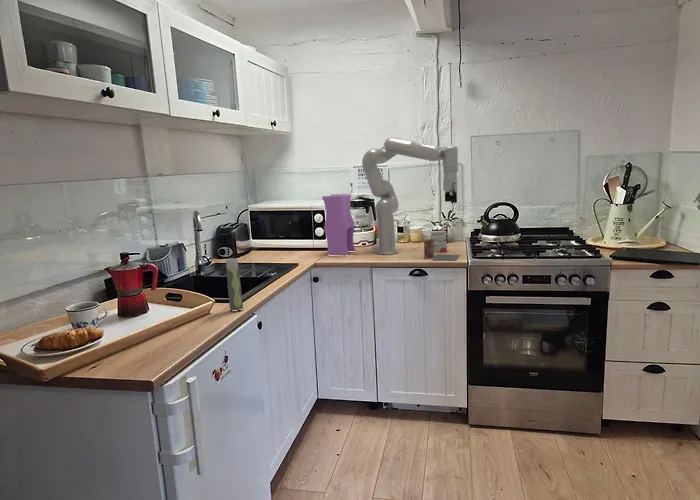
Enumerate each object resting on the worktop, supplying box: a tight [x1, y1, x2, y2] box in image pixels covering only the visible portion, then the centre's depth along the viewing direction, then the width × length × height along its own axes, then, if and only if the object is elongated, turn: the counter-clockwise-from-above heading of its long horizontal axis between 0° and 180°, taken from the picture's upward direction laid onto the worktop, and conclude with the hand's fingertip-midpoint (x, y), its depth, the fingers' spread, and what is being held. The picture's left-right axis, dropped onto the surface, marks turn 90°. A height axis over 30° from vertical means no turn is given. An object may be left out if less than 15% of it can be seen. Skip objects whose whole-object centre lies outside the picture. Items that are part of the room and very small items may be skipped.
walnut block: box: [423, 238, 435, 260], centre depth 256 cm, size 4×6×10 cm, turn 160°
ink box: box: [430, 230, 448, 253], centre depth 272 cm, size 9×5×12 cm, turn 84°
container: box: [321, 193, 357, 256], centre depth 280 cm, size 14×14×35 cm
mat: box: [432, 254, 460, 262], centre depth 253 cm, size 12×14×1 cm
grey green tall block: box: [225, 257, 244, 310], centre depth 178 cm, size 5×5×20 cm
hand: (450, 202), depth 257 cm, fingers open, 9 cm apart
